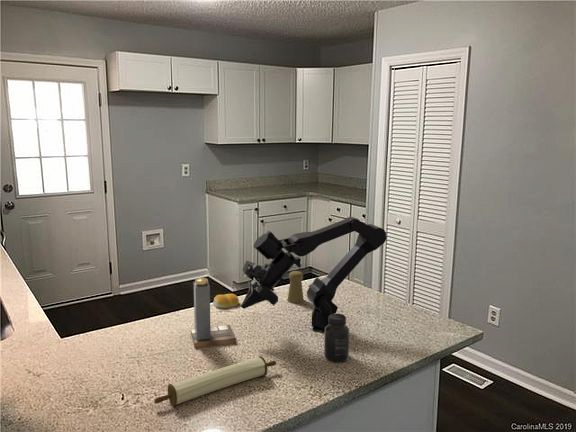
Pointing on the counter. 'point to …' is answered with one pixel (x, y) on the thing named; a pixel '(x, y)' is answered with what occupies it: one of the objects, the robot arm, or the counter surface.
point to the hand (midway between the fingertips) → (242, 307)
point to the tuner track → (215, 336)
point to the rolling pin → (215, 380)
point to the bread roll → (226, 301)
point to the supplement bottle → (336, 339)
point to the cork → (295, 287)
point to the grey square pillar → (202, 309)
